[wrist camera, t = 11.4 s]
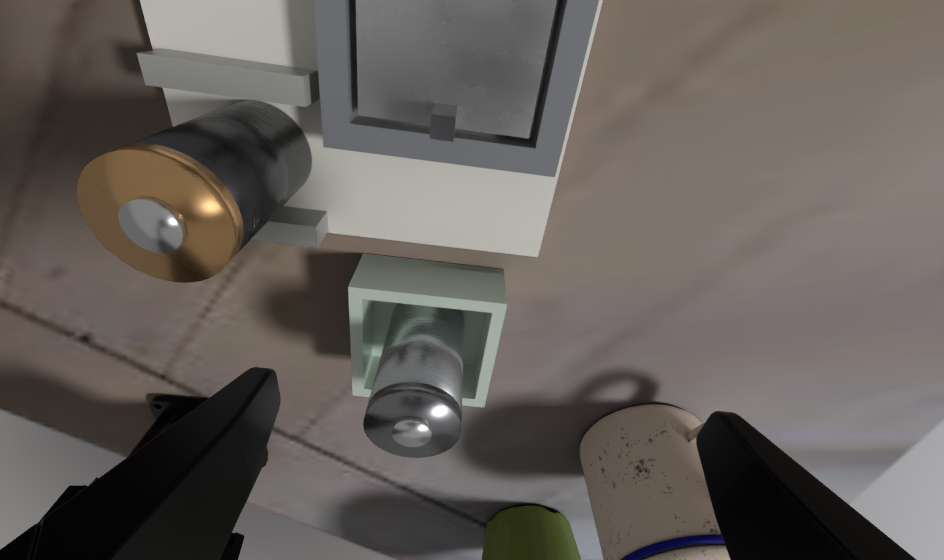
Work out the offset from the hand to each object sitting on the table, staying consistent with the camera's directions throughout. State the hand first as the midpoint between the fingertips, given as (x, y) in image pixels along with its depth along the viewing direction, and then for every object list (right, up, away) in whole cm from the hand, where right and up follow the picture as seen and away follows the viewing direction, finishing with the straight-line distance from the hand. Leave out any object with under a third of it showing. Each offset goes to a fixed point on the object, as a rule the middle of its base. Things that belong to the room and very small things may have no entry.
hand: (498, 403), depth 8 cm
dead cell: (-3, 0, +14) cm, 15 cm away
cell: (-9, +8, +9) cm, 15 cm away
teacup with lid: (+12, -8, +20) cm, 25 cm away
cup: (-3, 0, +15) cm, 15 cm away
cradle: (-1, +11, +6) cm, 13 cm away
